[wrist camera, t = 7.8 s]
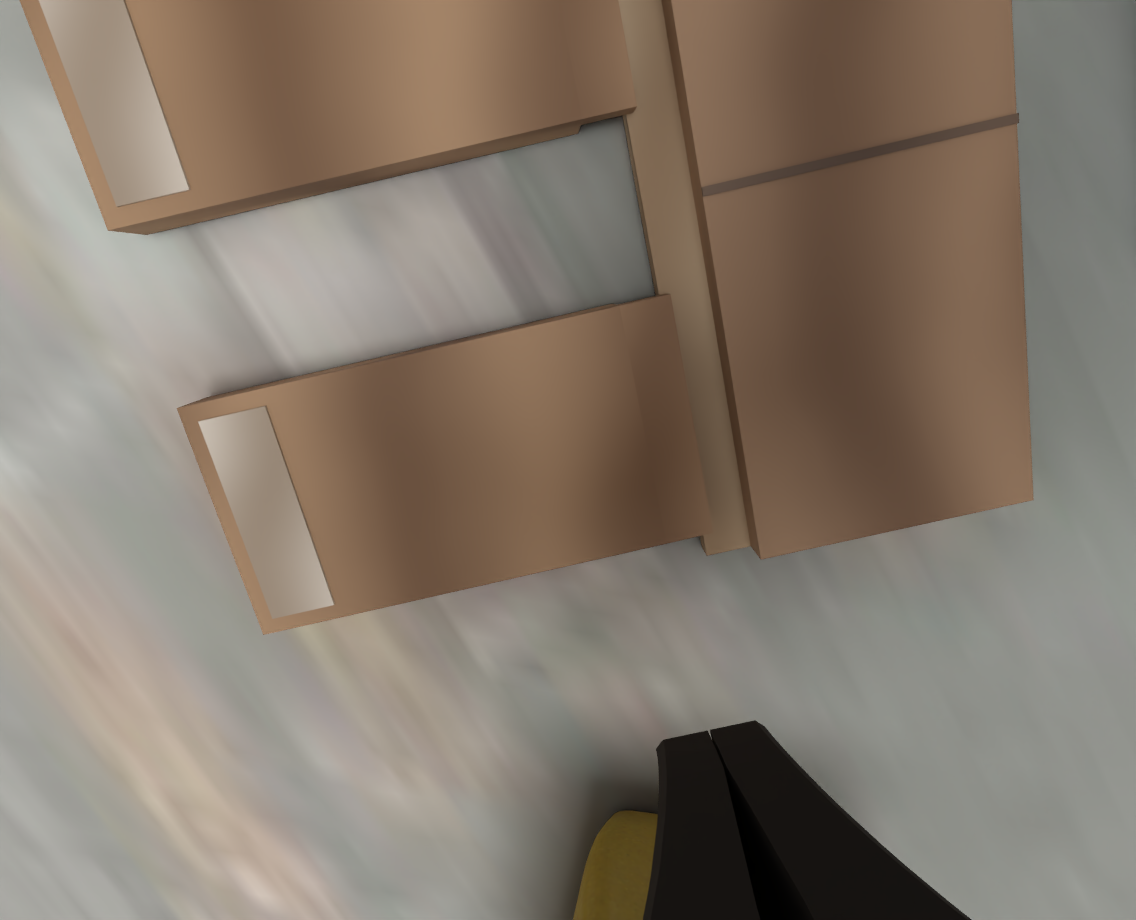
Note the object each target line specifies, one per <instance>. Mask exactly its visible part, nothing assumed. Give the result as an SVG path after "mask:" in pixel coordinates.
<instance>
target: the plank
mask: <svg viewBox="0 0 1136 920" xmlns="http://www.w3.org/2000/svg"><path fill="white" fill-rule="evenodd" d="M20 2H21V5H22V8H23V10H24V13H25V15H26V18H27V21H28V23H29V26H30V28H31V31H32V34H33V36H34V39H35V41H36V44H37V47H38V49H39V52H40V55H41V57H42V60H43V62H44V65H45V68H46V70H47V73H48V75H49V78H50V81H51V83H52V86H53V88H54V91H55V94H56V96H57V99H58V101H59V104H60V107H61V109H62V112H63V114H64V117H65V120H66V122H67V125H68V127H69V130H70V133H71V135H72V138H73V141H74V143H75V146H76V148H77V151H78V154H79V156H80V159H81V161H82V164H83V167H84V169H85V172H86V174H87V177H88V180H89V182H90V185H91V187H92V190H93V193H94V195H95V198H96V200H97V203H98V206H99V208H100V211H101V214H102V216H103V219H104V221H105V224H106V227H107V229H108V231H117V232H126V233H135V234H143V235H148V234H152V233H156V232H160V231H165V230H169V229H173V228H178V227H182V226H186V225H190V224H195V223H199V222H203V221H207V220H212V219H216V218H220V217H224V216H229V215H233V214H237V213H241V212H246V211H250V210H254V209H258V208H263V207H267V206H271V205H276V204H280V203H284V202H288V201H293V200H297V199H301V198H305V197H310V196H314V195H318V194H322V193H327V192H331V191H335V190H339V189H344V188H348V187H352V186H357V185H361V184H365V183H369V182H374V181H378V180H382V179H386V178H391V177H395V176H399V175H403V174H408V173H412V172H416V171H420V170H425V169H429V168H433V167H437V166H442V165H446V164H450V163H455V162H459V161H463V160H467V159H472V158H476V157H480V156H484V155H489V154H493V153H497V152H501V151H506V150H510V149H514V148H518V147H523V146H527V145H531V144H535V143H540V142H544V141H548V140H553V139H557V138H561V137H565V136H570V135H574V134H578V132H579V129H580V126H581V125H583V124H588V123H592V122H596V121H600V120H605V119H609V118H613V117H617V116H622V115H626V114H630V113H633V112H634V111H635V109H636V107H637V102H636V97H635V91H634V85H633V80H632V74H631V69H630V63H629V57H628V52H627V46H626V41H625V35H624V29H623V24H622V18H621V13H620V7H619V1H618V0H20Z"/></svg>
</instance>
